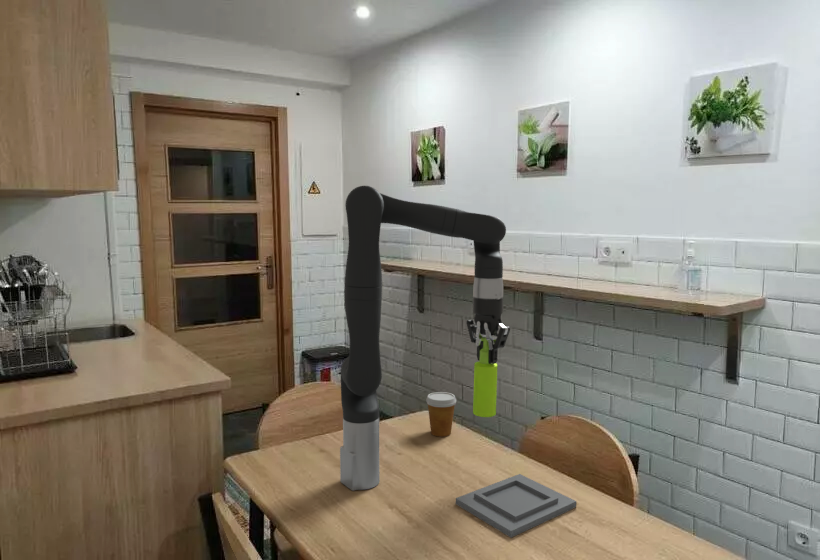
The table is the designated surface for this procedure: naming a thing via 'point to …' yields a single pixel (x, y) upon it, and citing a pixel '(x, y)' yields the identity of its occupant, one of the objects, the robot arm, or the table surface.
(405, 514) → the table surface
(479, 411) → the soap dispenser
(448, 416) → the disposable coffee cup
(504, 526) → the stand
